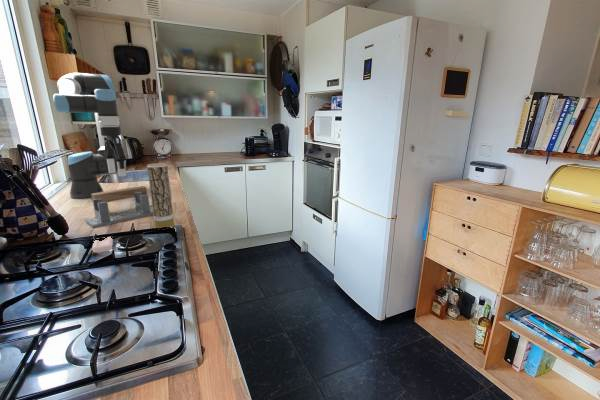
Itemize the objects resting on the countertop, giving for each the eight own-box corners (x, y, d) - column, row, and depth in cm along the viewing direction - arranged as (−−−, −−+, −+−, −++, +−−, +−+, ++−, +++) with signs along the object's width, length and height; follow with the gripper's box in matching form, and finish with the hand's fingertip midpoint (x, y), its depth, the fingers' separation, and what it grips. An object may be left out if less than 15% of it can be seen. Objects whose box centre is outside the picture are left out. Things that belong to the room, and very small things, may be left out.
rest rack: (97, 212, 139) (95, 201, 138) (141, 203, 152) (139, 194, 151) (101, 214, 135) (99, 203, 134) (146, 206, 149) (144, 196, 147)
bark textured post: (167, 232, 115) (159, 166, 109) (151, 230, 117) (142, 165, 110) (177, 225, 122) (171, 163, 115) (162, 224, 123) (155, 162, 116)
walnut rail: (92, 202, 136) (91, 193, 135) (143, 193, 152) (142, 185, 151) (95, 204, 133) (93, 195, 132) (147, 195, 149) (146, 187, 148)
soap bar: (113, 242, 107) (112, 235, 106) (112, 251, 99) (111, 244, 98) (95, 245, 104) (93, 238, 104) (92, 255, 97) (91, 248, 96)
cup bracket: (85, 221, 126) (81, 200, 123) (150, 208, 144) (147, 190, 142) (92, 227, 119) (88, 205, 117) (159, 213, 138) (157, 193, 135)
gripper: (91, 126, 139) (99, 172, 145) (109, 127, 123) (117, 178, 128) (110, 126, 145) (117, 170, 150) (129, 126, 128) (136, 176, 134)
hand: (117, 174), depth 139 cm, fingers open, 13 cm apart
